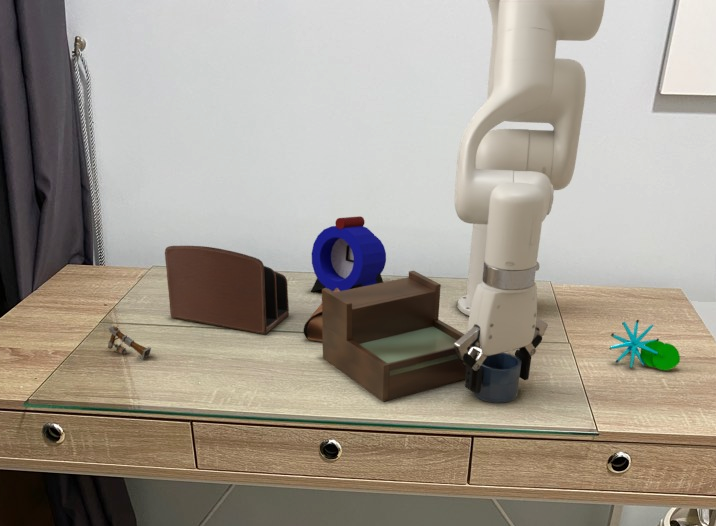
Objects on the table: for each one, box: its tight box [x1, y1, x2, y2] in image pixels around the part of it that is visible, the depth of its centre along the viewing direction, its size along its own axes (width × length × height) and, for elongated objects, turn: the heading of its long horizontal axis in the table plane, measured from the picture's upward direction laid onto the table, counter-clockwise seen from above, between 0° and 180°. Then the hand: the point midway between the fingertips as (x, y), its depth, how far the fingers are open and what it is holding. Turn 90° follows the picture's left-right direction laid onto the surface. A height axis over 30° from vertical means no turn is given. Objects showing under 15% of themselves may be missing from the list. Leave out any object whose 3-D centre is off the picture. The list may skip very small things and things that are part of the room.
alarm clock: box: [310, 216, 387, 293], centre depth 169 cm, size 12×12×15 cm
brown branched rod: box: [107, 325, 152, 360], centre depth 147 cm, size 2×8×4 cm, turn 66°
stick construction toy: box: [608, 319, 681, 371], centre depth 146 cm, size 12×7×8 cm
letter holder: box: [164, 245, 290, 335], centre depth 157 cm, size 10×20×14 cm, turn 68°
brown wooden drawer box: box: [321, 270, 479, 402], centre depth 141 cm, size 19×18×12 cm
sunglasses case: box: [302, 288, 340, 343], centre depth 158 cm, size 18×7×7 cm
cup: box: [473, 352, 522, 404], centre depth 135 cm, size 7×7×6 cm
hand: (496, 383), depth 135 cm, fingers open, 9 cm apart
